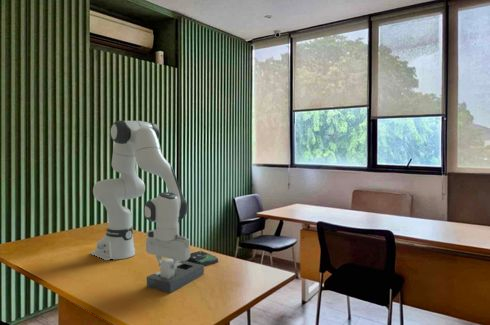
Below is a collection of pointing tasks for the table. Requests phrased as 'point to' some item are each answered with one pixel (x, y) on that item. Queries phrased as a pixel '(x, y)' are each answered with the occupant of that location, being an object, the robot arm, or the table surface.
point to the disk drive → (202, 258)
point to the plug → (167, 268)
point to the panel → (176, 277)
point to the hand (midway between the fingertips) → (167, 267)
